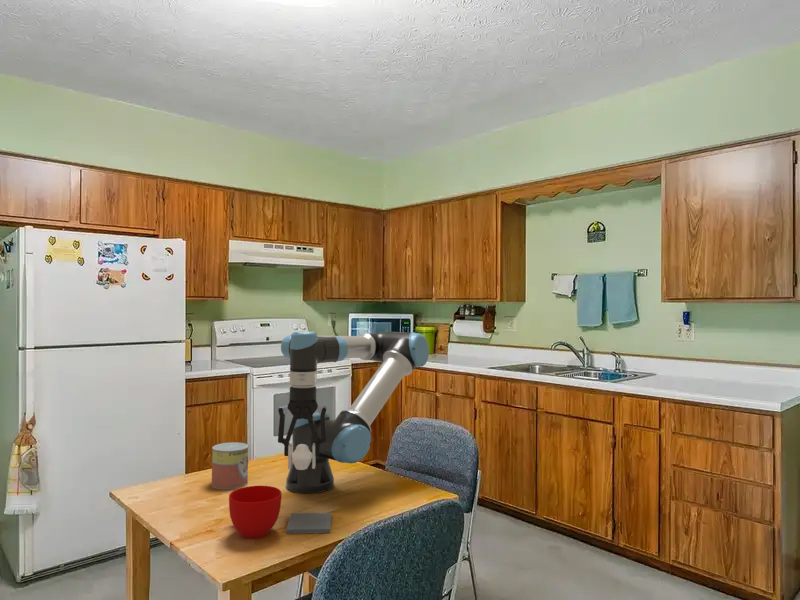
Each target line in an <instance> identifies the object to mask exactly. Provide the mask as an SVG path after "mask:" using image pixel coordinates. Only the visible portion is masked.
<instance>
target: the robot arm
mask: <svg viewBox="0 0 800 600" xmlns="http://www.w3.org/2000/svg"><path fill="white" fill-rule="evenodd" d="M429 350H430V348H429V343H428V339H427V338H426V337H425V336H424V335H423V334H422V333H418V332H413V331H412V332H402V331H380V332H369V333H368V332H367V333H366V332H364V333H361V334H359V335H318V333H317V332H315V331H311V330H309V331H308V330H307V331H306V330H305V331H301V330H300V331H293V332H292V333H291V334H289V335H286V336H285V337H284V338H282V340H281V344H280V351H281V353H282V355H283V356H284V357H285V358H286V359H289V385H290V387H289V400H288V404H287V405H284V406H282V405H281V406H279V408H278V411H277V412H278V415H279V424H278V434H277V443H279V444H282V445H283V447H284V450H283V452H284V453H283V454H284V457H287V470H288V473H287V476H286V480H285V481H286V482H285V483H286V485H285V487H286V490H288V491H289V492H290V491H291V492H294V493H297V494H298V493H300V494H316V493H323V492H326V491H329V490H330V489H332V488H333V487H334V485H335V482H334V481H335V480H334V479H335V478H334V474H333V471H332V467H331V464H330V460H332V461H336V462H338V463H342V464H355V463H358V462H360V461H362V460H363V459H364V458H365V456H366V455H367V453H368V452H369V450H370V448H371V445H370V443H372V435H371V433H372V428H371V425H372V424H373V422H374V420H375V419H376V418H377V416H378V414H379V413H380V412H381V410H382V409H383V408H384V405H386V403H387V401H388V400H389V398H390V397H391V396H392V394H393V393H394V391H395V389H396V388H397V387H398V385H399V384H400V382H401V381H402V379H403V378H404V376H405V377H406V376H410V375H411V374H412V373H413V371H414V369H415V368H420V367H421V368H422V367H424V366H425V365H426V364H427V362H428V360H429V357H430V356H429V355H430V351H429ZM356 358H357V359H358V358H359V359H361V360H363V361H372V362H379V363H381V364H380V366H379V367H378V368H377V370H376V371H375V373H374V374H373V376H371V378H370V379H369V381H368V382H367V384H365V386H364V388H363V389H362V390H361V392H360V393H359V394H358V396H356V397H357V398H355V400H354V401H353V403H352V404H351V406H350V407H349V408H348V409H344V410H341V411H340V413H339V414H337V417H336V418H335V419H331V416H330V413H329V412H327V409H328V408H327V406H325V405H324V406H322V405H318V402H317V380H318V379H317V378H318V377H317V376H318V373H317V372H318V369H317V368H318V364H324V363H326V364H327V363H337V362H341V361H344V360H345V359H356ZM288 411H289V412H290V413H291V415H292V418H291V422H290V425H289V428H288V430H287V434H286V437H284V434H285V433H284V432H285V423H286V422H285V421H286V415H287V413H288ZM316 411H318V412H316ZM291 439H292V442H290V441H291ZM300 444H305V445H307V446H308V449H309V450H310V452H311V453H312V461H311V462H310V464H309V466H308V468H307V469H305V470H297V469H296V468H295V466H294V464H293V462H292V459H291V455H292V453H293V452H294V451H295V450H296V447H297V445H300Z"/></svg>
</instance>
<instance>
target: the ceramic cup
mask: <svg viewBox="0 0 800 600" xmlns="http://www.w3.org/2000/svg"><path fill="white" fill-rule="evenodd" d="M281 504H282V491H281V490H280V489H279V488H277V487H275V486H270V485H250V486H243V487H240V488H236V489H234V490H233V491H232V492H230V493H229V495H228V507H229V508H228V509H229V517H230V520H231V524H232V525H233V527H234V528H235V530H236V531H237V532H238V533H239V534H240V536H241V537H242V538H244V539H251V540H252V539H260V538H263V537H266V536H267V535H268V534H269V532H270V531H271V530H272V529H273V527H274V526H275V524H276V522H277V521H278V519H279V514H280V511H281V506H282V505H281Z"/></svg>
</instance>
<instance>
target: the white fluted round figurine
mask: <svg viewBox="0 0 800 600" xmlns="http://www.w3.org/2000/svg"><path fill="white" fill-rule="evenodd" d="M291 459H292V462H293V464H294V466H295V468H296V469H297V470H305V469H307V468H308V466H309V464H310V462H311V461H312V453H311V452H310V450H309V449H308V446H307V445H305V444H300V445H297V447H296V450H295V451H294V452H293V453H292V455H291Z"/></svg>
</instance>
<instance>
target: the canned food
mask: <svg viewBox="0 0 800 600" xmlns="http://www.w3.org/2000/svg"><path fill="white" fill-rule="evenodd" d="M211 448H212V449H211V450H212V458H211V484H210V485H211V487H212V488H214V489H215V490H237V489H240V488H244V487H246V486H248V483H249V480H248V479H249V477H248V476H249V475H248V473H249V469H248V468H249V444H248V443H246V442H245V443H244V442H241V441H239V442H238V441H236V442H235V441H234V442H233V441H231V442H222V443H217V444H215V445H213V446H212V447H211Z"/></svg>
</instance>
